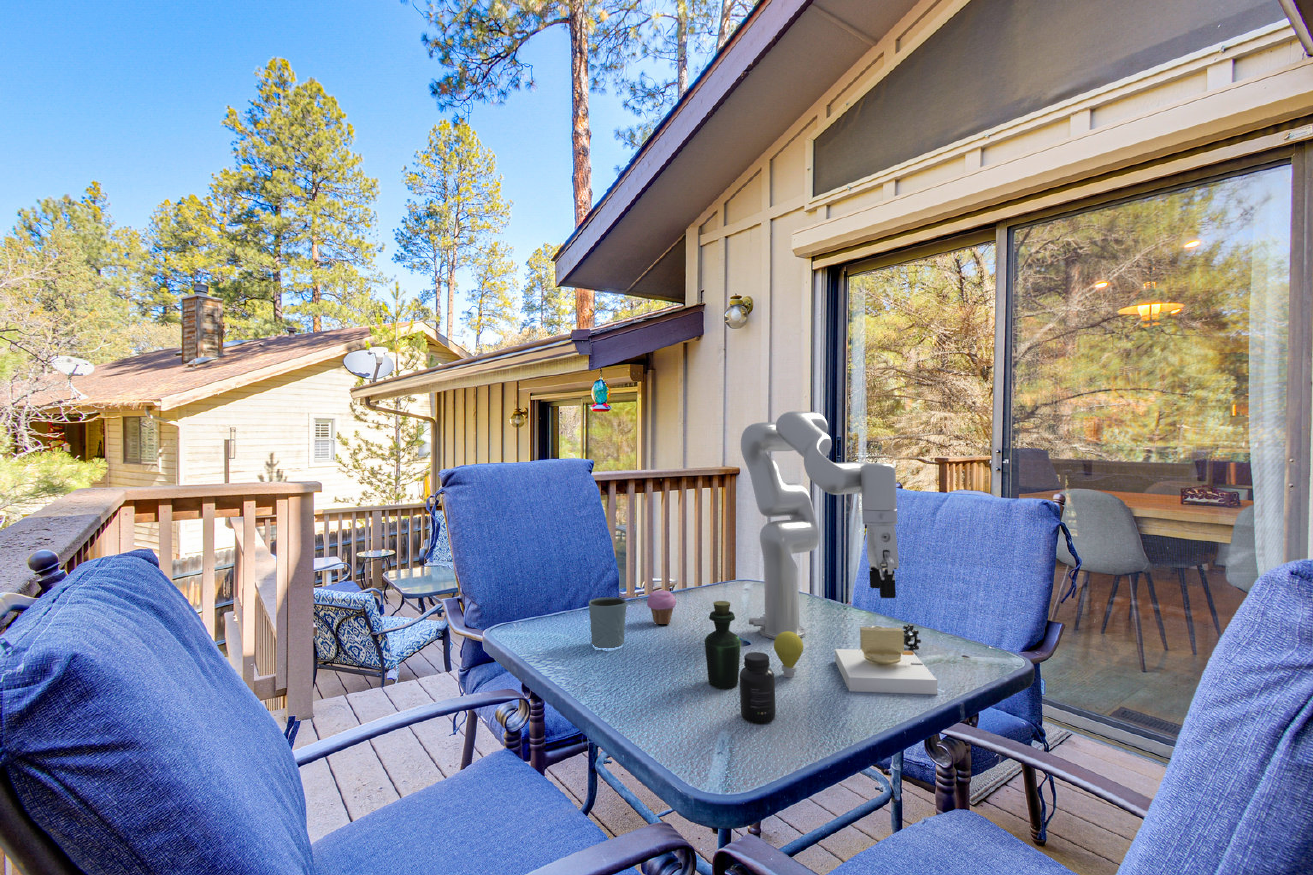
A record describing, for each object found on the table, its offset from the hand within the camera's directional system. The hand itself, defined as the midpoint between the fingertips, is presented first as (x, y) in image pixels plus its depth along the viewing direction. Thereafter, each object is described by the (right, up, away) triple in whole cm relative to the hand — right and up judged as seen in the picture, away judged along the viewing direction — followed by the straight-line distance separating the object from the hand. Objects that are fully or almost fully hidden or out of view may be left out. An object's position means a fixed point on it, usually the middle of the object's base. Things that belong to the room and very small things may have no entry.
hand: (882, 592), depth 137 cm
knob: (+1, -16, 0) cm, 16 cm away
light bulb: (-21, -20, +2) cm, 29 cm away
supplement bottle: (-32, -20, -19) cm, 42 cm away
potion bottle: (-36, -20, -2) cm, 42 cm away
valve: (+9, -20, +16) cm, 27 cm away
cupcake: (-50, -21, +44) cm, 70 cm away
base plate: (0, -19, 0) cm, 19 cm away
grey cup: (-64, -21, +24) cm, 72 cm away
